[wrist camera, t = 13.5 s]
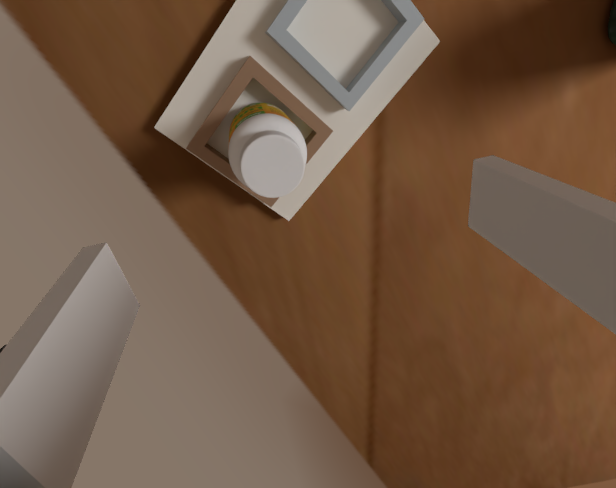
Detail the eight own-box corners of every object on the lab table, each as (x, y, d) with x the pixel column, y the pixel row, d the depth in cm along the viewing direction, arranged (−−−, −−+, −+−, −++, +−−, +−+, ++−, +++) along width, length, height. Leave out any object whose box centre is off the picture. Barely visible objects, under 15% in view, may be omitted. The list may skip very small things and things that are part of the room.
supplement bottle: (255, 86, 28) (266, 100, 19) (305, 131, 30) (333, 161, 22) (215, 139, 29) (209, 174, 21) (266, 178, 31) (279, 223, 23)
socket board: (156, 124, 29) (150, 131, 26) (311, -115, 23) (320, -133, 21) (287, 216, 35) (291, 227, 32) (433, 41, 30) (450, 40, 27)
